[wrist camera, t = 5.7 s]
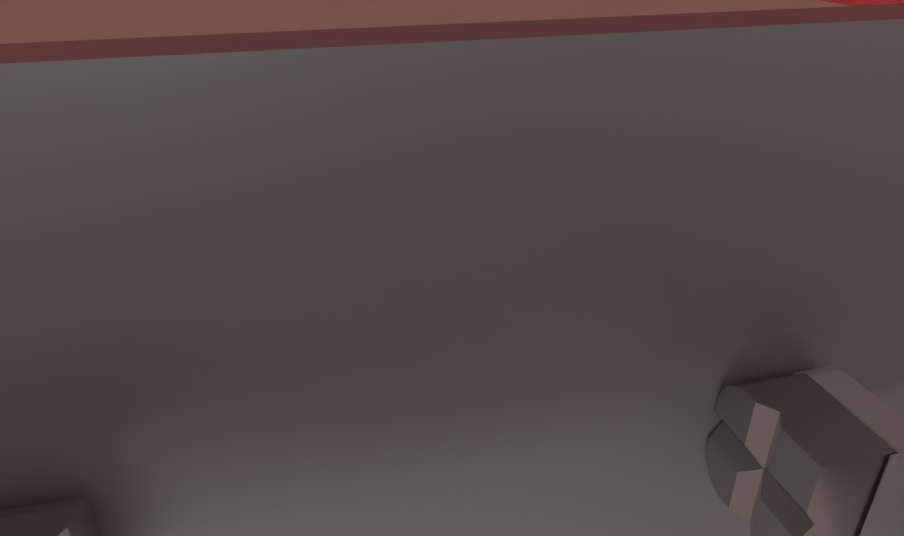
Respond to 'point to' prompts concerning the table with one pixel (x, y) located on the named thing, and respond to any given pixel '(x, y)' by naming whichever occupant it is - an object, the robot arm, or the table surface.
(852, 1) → the table surface
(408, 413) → the lid
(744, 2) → the box body
